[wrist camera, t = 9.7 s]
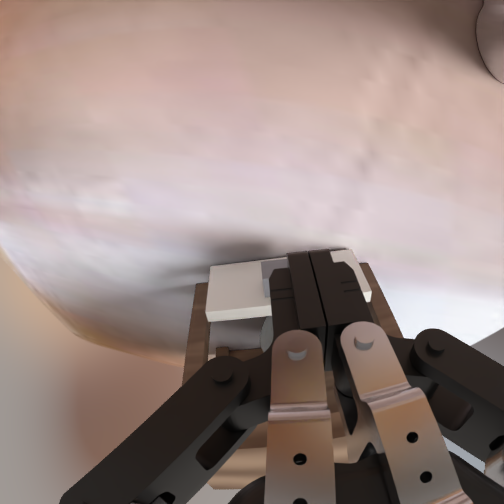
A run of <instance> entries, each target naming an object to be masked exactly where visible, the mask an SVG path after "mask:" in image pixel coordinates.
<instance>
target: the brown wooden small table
mask: <svg viewBox="0 0 504 504" xmlns="http://www.w3.org/2000/svg"><path fill="white" fill-rule="evenodd" d="M359 265H360V267H361V269H362V271H363V274H364V276H365V278H366V280H367V282H368V284H369V286H370V289H371V291H372V293H371V300H370V302H367V305H368V308H369V310H370V313H371V316H372V318H373V321H374V323H375V324H376V325H378V326H379V327H381V328H382V329H383V330H384V332H385V333H386V334H387V335H389V336H392V337H397V338H403V335H402V333H401V331H400V329H399V326H398V324H397V322H396V320H395V318H394V316H393V313H392V311H391V309H390V307H389V305H388V303H387V301H386V299H385V297H384V294H383V292H382V290H381V288H380V286H379V284H378V282H377V280H376V278H375V276H374V274H373V272H372V270H371V268H370V266H369V264H368V263H363V264H359ZM208 284H209V283H200V284H196V289H195V295H194V302H193V308H192V315H191V322H190V329H189V336H188V343H187V350H186V357H185V365H184V373H183V381H182V386H183V385H184V384H185V383H186V382H187V381H188V380H189V379H190V378H191V377H192V376H193V375H194V374H195V373H196V372H197V371H198V370H199V369H200V368H201V367H202V366H203V365H204V364H205V363H206V362H207V361H208V349H209V336H210V324H211V322H208V319H207V316H206V313H205V311H206V302H207V293H208ZM262 353H263V351H262V348H258V349H248V350H237V351H229V348H228V347H220V348H216V357H219V356H233V357H236V358H238V359H240V360H241V361H243V362H244V361H246V360H249V359H252V358H255V357H257V356H259V355H261V354H262ZM324 374H325V385H326V396H327V405H328V408H329V409H330V414H331V424H332V437H333V452H334V463H349V460H348V454H347V439H346V434H345V431H344V427H343V423H342V420H341V416H340V413H339V409H338V406H337V402H336V398H335V395H334V391H333V386H334V376H333V371H326V372H324ZM267 430H268V421H266V422H264V423H261V424H258V425H257V427H256V428H255V429H254V431H253V432H252V433H251V434H250V435H249V436H248V438H247V439H246V440H245V441H244V442H243V443H242V445H241V446H240V447H239V448H238V449H237V450H236V451H235V452H234V454H233V455H232V456H231V457H230V458H229V459H228V460H227V461H226V462H225V464H224V465H223V466H222V467H221V468H220V469H219V470H218V471H217V472H216V473H215V474H214V475H213V476H212V478H211V479H210V480H209V481H208V482H207V483H208V484H209V485H210V486H211V487H212V488H213V489H243V488H244V487H245V486H247V485H248V484H249V483H251V482H252V481H254V480H256V479H258V478H260V477H262V476H265V475H266V454H267Z"/></svg>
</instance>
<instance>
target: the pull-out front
mask: <svg viewBox="0 0 504 504" xmlns="http://www.w3.org/2000/svg"><path fill="white" fill-rule="evenodd" d="M330 254H331V256H332V259H333V262H342V261H344V262H346V263H347V264H348V265H349V266H350V267H351V268H352V269H353V270H354V272H355V275H356V277H357V280H358V282H359V285H360V287H361V291H362V292H363V295H364V297H365V300H366V302H370V300H371V293H372V291H371V289H370V286H369V284H368V282H367V280H366V278H365V276H364V274H363V271H362V269H361V267H360V265H359V263H358V261H357V259H356V257H355V255H354V253H353V251H352V249H348V250H340V251H332V252H330ZM279 268H287V257H283V258H275V259H267V260H259V261H250V262H242V263H234V264H225V265H217V266H211V267H210V275H209V284H208V293H207V302H206V311H205V313H206V316H207V319H208V322H215V321H225V320H235V319H245V318H254V317H263V316H272V311H271V299H270V288H269V278H270V276H271V274H272V272H273V270H274V269H279Z"/></svg>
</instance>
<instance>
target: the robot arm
mask: <svg viewBox="0 0 504 504" xmlns="http://www.w3.org/2000/svg"><path fill="white" fill-rule="evenodd" d="M483 1H484V5H483V8H482V9H481V11H480V13H479V15H478V19H477V25H476V35H477V42H478V47H479V50H480V53H481V56H482V59H483V61H484V63H485V65H486V67H487V68H488V69H489V71H490V72H491V74H492V75H493V76H494V77H495V78H496V79H497V80H499V81H500V82H501V83H503V84H504V0H483ZM269 288H270V299H271V311H272V323H273V341H272V343H271V345H270V347H269V348H268V349H267V350H266V351H265V352H264V353H262V354H261V355H259V356H257V357H255V358H252V359H249V360H246V361H244V362H243V361H241V360H240V359H238V358H236V357H233V356H219V357H215V358H213V359H211V360H209V361H207V362H206V363H205V364H204V365H203V366H202V367H201V368H200V369H199V370H198V371H197V372H196V373H195V374H194V375H193V376H192V377H191V378H190V379H189V380H188V381H187V382H186V383H185V384H184V385H183V386H182V387H180V388H179V389H178V391H176V392H175V393H174V394H173V395H172V396H171V397H170V398H169V399H168V400H167V401H166V402H165V403H164V404H163V405H162V406H161V407H160V408H159V409H158V410H157V411H155V412H154V413H153V414H152V415H151V416H150V417H149V418H148V419H147V420H146V421H145V422H144V423H143V424H142V425H141V426H139V427H138V428H137V429H136V430H135V431H134V432H133V433H132V434H131V435H130V436H129V437H128V438H126V440H124V441H123V442H122V443H121V444H120V445H119V446H118V447H117V448H116V449H114V450H113V451H112V452H111V453H110V454H109V455H108V456H107V457H105V458H104V459H103V460H102V461H101V462H100V463H99V464H98V465H97V466H95V467H94V468H93V469H92V470H91V471H90V472H89V473H87V474H86V475H85V476H84V477H83V478H82V479H80V480H79V481H78V482H77V483H76V484H75V485H74V486H73V487H71V488H70V489H69V490H68V491H67V492H66V493H64V494H63V496H62V497H61V500H60V503H59V504H186V503H187V502H188V501H189V500H190V499H191V498H192V497H193V496H194V495H195V494H196V493H197V492H198V491H199V490H200V489H201V488H202V487H203V486H204V485H205V484H206V483H207V482H208V481H209V480H210V479H211V478H212V476H213V475H214V474H215V473H216V472H217V471H218V470H219V469H220V468H221V467H222V466H223V465H224V464H225V462H226V461H227V460H228V459H229V458H230V457H231V456H232V455H233V454H234V452H235V451H236V450H237V449H238V448H239V447H240V446H241V445H242V443H243V442H244V441H245V440H246V439H247V438H248V436H249V435H250V434H251V433H252V432H253V431H254V429H255V428H256V427H257V425H258V424H261V423H264V422H266V421H268V430H267V454H266V475H265V476H262V477H260V478H258V479H256V480H254V481H252V482H251V483H249V484H248V485H247V486H245V487H244V488H243V489H241V490H240V491H239V492H238V493H237V494H236V495H235V496H234V497H233V498H232V500H231V501H230V502H229V503H228V504H504V366H502V365H501V364H499V363H497V362H496V361H494V360H492V359H491V358H489V357H487V356H486V355H484V354H482V353H481V352H479V351H477V350H476V349H474V348H472V347H471V346H469V345H467V344H465V343H464V342H462V341H460V340H459V339H457V338H455V337H453V336H452V335H450V334H448V333H447V332H445V331H443V330H440V329H426V330H424V331H422V332H420V333H419V334H418V335H417V337H416V338H415V339H406V338H397V337H392V336H389V335H387V334H386V333H385V332H384V330H383V329H382V328H381V327H379V326H378V325H376V324H375V323H374V321H373V318H372V316H371V313H370V310H369V308H368V305H367V302H366V300H365V297H364V295H363V292H362V291H361V287H360V285H359V282H358V280H357V277H356V275H355V272H354V270H353V269H352V268H351V267H350V266H349V265H348V264H347V263H346V262H344V261H342V262H333V259H332V256H331V254H330V251H329V249H322V250H313V251H308V252H307V251H304V252H295V253H287V268H279V269H274V270H273V272H272V274H271V276H270V278H269ZM326 371H333V376H334V386H333V391H334V395H335V398H336V402H337V406H338V409H339V413H340V416H341V420H342V423H343V427H344V431H345V434H346V439H347V454H348V460H349V463H334V452H333V437H332V424H331V414H330V409H329V408H328V405H327V396H326V385H325V374H324V372H326ZM442 435H443V436H444V437H446V438H447V439H449V440H450V441H452V442H453V443H455V444H456V445H458V446H460V447H461V448H463V449H464V450H466V451H467V452H469V453H470V454H472V455H474V456H475V457H477V458H478V459H480V460H481V461H483V462H485V470H484V474H483V473H482V472H480V471H479V470H478V469H476V468H474V467H473V466H472V465H470V464H469V463H467V462H466V461H465V460H463V459H462V458H460V457H459V456H457V455H456V454H454V453H452V452H450V451H448V449H447V447H446V444H445V441H444V439H443V437H442Z"/></svg>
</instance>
